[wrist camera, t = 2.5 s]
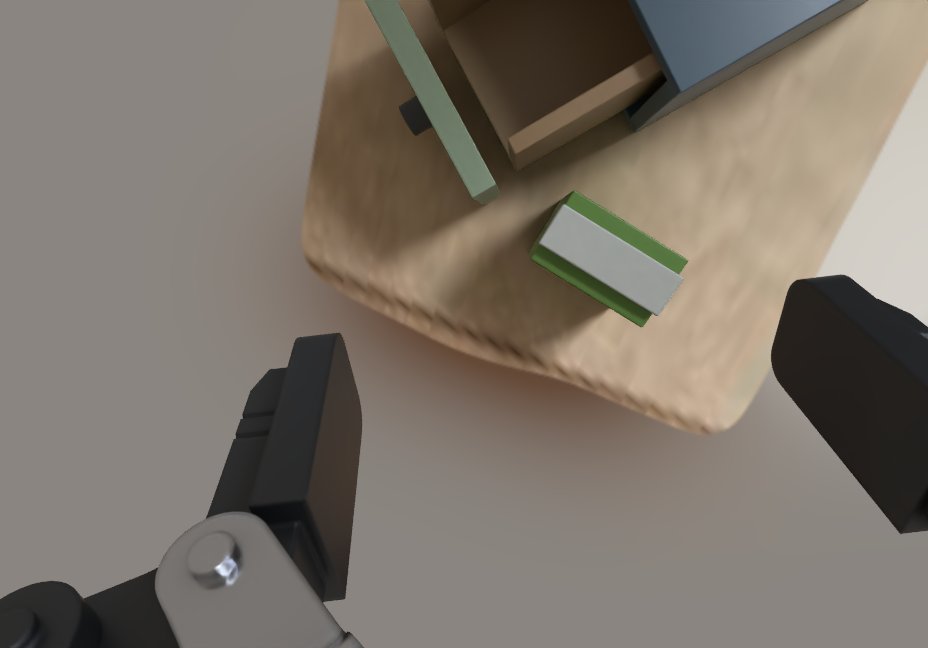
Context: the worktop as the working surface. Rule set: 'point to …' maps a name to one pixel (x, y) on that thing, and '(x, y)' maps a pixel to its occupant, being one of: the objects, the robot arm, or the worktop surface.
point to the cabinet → (718, 42)
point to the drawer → (523, 73)
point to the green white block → (608, 258)
